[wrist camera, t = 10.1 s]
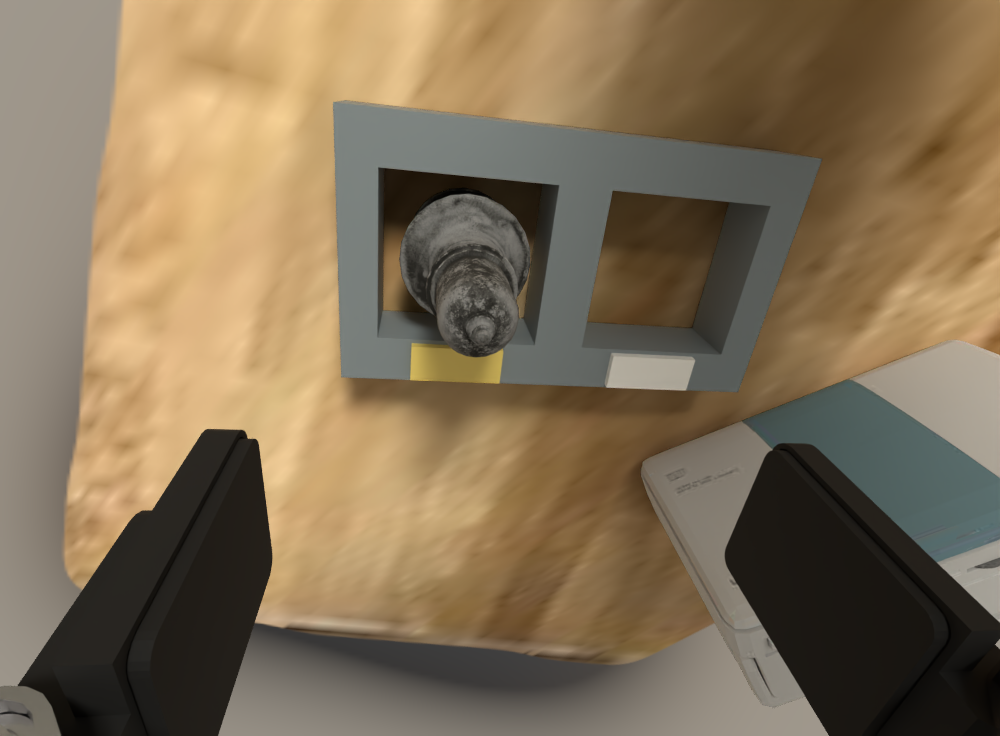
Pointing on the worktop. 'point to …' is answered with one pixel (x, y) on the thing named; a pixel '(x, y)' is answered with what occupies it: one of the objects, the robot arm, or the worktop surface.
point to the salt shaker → (467, 268)
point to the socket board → (564, 248)
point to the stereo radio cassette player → (867, 463)
